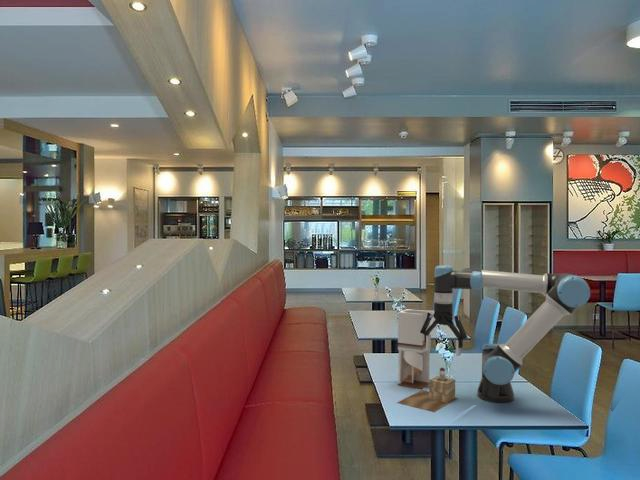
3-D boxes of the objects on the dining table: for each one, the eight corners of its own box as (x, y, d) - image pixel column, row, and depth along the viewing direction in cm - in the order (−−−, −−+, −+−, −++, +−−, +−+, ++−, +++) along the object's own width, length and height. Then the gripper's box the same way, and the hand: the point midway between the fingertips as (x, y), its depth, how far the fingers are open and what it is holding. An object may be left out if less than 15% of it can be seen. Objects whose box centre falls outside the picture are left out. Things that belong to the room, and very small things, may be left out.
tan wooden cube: (455, 398, 219) (455, 379, 219) (446, 403, 213) (447, 383, 213) (437, 394, 224) (437, 375, 224) (429, 398, 218) (429, 380, 218)
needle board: (458, 401, 219) (458, 367, 219) (434, 416, 202) (434, 378, 202) (422, 393, 230) (422, 360, 230) (396, 406, 213) (396, 371, 212)
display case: (397, 388, 236) (398, 312, 236) (405, 382, 246) (406, 309, 245) (421, 392, 231) (422, 314, 230) (429, 386, 240) (430, 311, 239)
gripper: (412, 300, 222) (412, 350, 223) (468, 306, 207) (467, 359, 207) (420, 299, 228) (420, 347, 229) (475, 304, 213) (475, 355, 213)
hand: (443, 353), depth 218 cm, fingers open, 13 cm apart
